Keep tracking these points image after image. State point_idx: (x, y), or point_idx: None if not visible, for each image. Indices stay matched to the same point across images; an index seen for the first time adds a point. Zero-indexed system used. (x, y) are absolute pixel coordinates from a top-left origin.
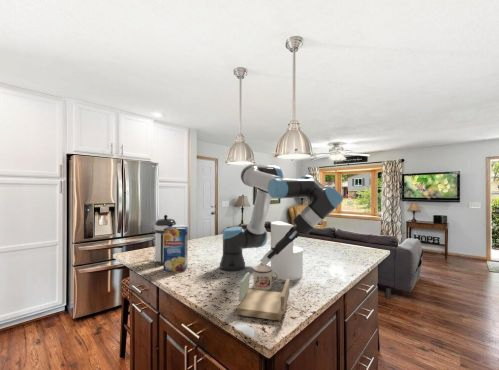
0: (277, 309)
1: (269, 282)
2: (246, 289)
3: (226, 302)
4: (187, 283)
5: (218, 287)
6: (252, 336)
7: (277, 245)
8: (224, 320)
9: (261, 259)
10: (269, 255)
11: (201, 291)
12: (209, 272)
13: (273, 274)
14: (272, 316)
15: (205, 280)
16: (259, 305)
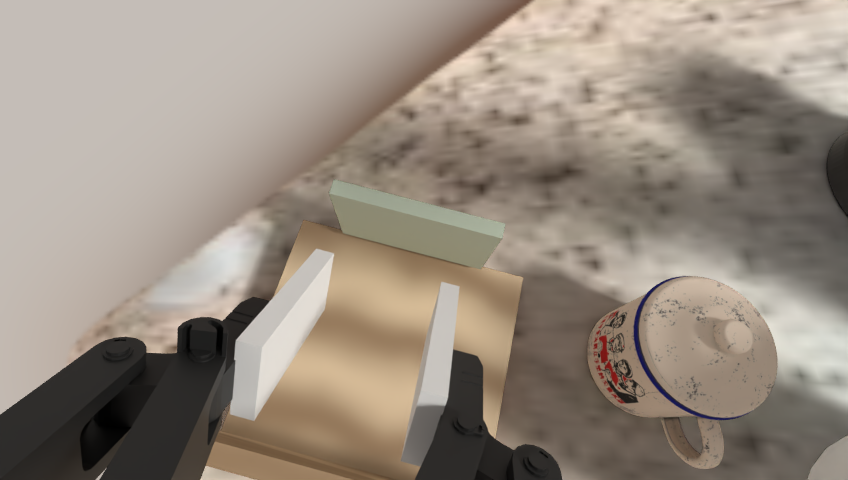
0: (270, 418)
1: (629, 399)
2: (432, 248)
3: (438, 187)
4: (615, 25)
5: (594, 144)
6: (145, 296)
7: (20, 405)
8: (280, 190)
9: (309, 258)
10: (231, 320)
11: (540, 84)
12: (774, 89)
13: (843, 447)
14: None
15: (666, 84)
16: (321, 323)
